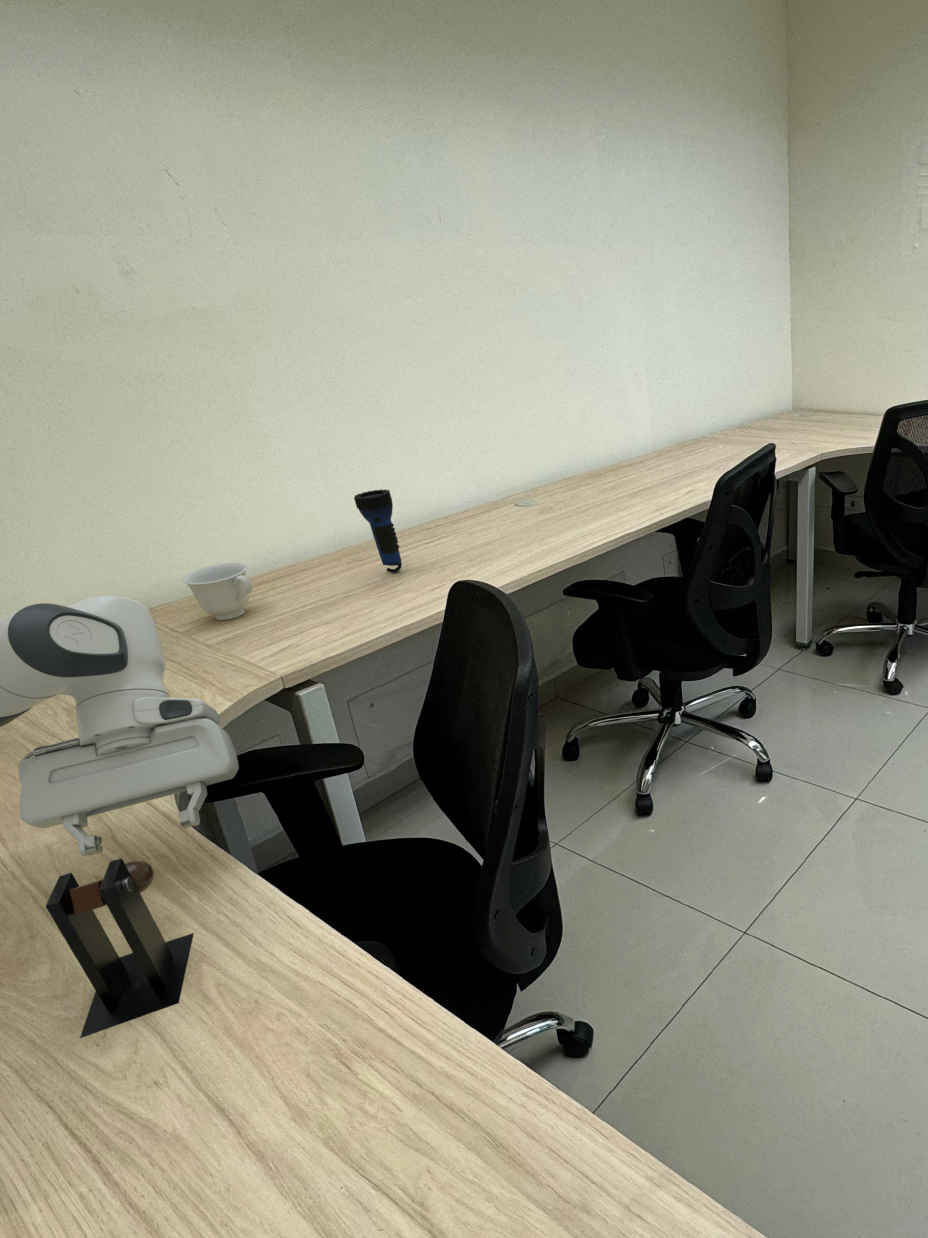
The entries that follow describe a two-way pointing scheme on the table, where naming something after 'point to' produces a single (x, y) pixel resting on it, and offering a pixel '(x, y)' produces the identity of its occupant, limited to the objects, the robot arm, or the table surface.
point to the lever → (89, 893)
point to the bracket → (117, 980)
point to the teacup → (221, 589)
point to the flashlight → (381, 524)
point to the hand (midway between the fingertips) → (142, 839)
